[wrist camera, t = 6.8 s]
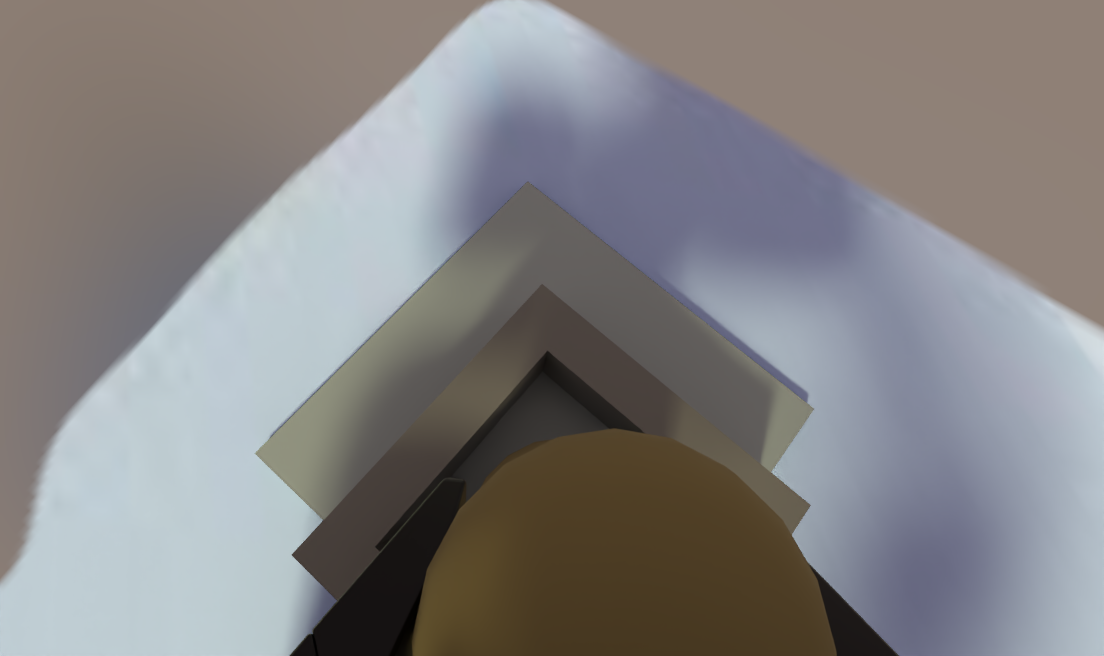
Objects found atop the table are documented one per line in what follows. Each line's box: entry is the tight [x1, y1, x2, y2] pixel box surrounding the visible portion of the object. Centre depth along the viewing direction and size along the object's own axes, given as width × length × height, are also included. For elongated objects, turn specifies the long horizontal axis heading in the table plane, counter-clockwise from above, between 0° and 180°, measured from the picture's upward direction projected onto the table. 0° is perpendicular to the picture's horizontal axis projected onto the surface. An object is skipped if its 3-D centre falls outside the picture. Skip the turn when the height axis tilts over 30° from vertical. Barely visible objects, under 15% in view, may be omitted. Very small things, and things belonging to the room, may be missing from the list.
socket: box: [255, 182, 814, 601], centre depth 18 cm, size 16×16×5 cm
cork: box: [412, 428, 837, 656], centre depth 10 cm, size 6×6×11 cm
